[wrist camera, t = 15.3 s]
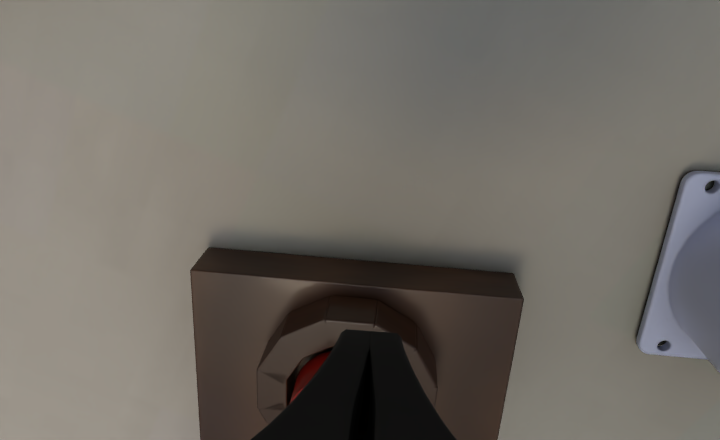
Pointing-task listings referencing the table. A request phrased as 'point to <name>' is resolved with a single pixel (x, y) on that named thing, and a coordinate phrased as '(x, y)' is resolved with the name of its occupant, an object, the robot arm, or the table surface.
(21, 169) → the table surface
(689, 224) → the robot arm
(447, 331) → the stand
